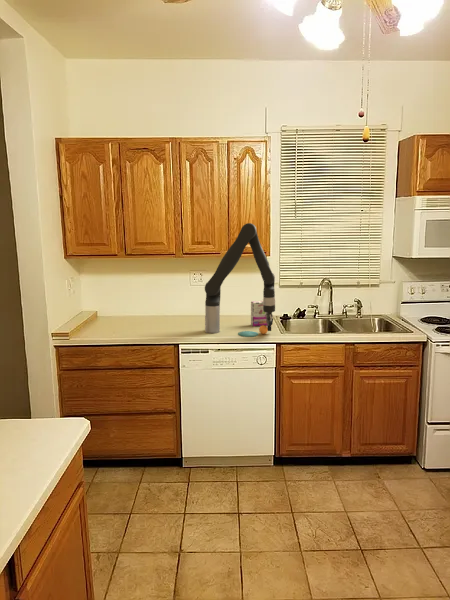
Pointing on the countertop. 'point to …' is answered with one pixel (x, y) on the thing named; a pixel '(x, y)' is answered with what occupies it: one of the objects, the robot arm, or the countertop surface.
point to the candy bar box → (258, 314)
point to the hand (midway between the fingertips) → (269, 330)
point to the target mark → (248, 334)
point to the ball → (263, 329)
